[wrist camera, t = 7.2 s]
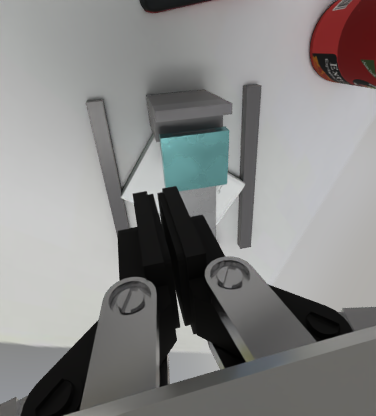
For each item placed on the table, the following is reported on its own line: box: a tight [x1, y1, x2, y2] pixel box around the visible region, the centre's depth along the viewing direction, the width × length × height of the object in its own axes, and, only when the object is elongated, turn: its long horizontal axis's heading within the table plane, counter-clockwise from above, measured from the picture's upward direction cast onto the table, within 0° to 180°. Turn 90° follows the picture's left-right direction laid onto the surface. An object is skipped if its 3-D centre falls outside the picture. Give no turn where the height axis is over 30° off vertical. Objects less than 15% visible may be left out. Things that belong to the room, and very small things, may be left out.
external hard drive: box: [121, 134, 245, 226], centre depth 33 cm, size 2×8×12 cm
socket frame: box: [86, 84, 261, 249], centre depth 30 cm, size 21×18×9 cm
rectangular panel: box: [159, 127, 229, 238], centre depth 28 cm, size 18×6×1 cm, turn 4°
